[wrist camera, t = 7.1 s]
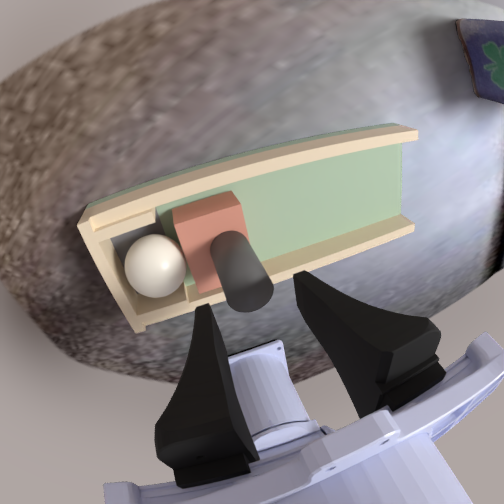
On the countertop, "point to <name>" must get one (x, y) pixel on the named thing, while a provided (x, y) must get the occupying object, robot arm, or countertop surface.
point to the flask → (484, 55)
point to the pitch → (262, 211)
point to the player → (222, 251)
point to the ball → (155, 265)
